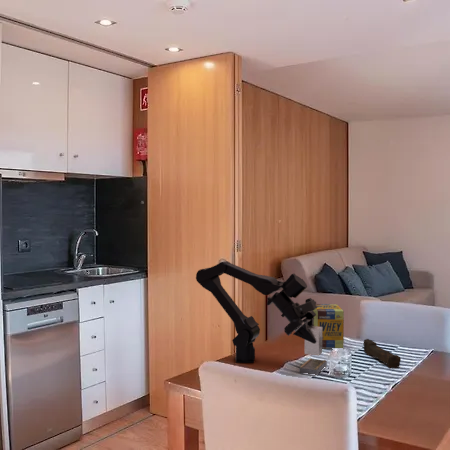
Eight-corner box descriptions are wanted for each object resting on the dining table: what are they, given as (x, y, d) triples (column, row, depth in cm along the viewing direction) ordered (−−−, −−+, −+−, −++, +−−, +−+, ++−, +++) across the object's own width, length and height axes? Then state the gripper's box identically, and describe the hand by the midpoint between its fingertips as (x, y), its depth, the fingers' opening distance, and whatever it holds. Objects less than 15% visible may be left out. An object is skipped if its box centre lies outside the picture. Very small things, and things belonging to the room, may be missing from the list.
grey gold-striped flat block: (316, 376, 174) (316, 369, 174) (299, 373, 176) (299, 366, 176) (326, 366, 184) (326, 359, 184) (310, 364, 187) (310, 357, 187)
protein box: (317, 350, 206) (317, 310, 206) (312, 340, 221) (312, 303, 221) (344, 350, 206) (344, 310, 205) (337, 340, 221) (337, 303, 221)
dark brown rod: (401, 368, 182) (401, 352, 182) (388, 369, 181) (388, 353, 181) (372, 351, 205) (372, 337, 204) (360, 352, 204) (360, 337, 204)
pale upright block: (318, 355, 177) (318, 329, 177) (304, 353, 180) (304, 327, 179) (322, 352, 181) (322, 326, 181) (308, 351, 183) (308, 325, 183)
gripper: (293, 295, 173) (326, 332, 168) (310, 287, 190) (341, 321, 185) (271, 317, 177) (302, 353, 172) (290, 307, 193) (319, 340, 189)
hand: (317, 341), depth 179 cm, fingers closed on pale upright block, 4 cm apart
